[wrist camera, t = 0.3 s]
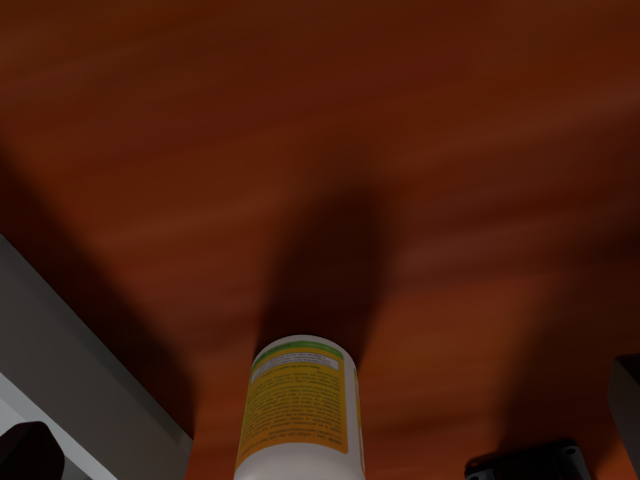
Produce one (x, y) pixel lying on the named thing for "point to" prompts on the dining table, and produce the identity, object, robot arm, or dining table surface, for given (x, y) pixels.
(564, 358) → the dining table surface
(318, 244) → the dining table surface
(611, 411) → the robot arm
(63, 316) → the tote
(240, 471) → the supplement bottle
